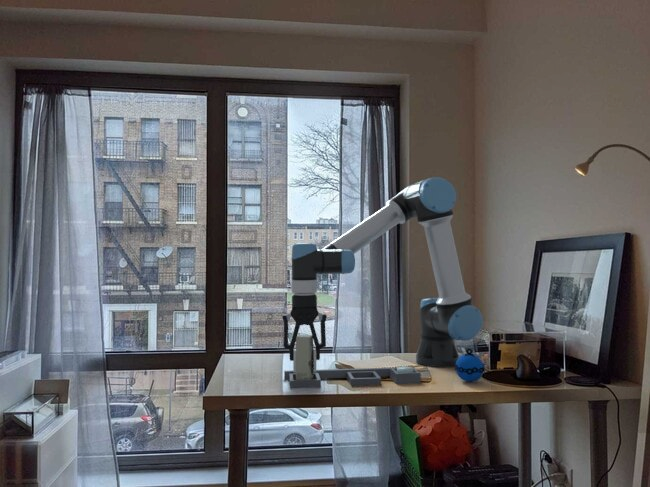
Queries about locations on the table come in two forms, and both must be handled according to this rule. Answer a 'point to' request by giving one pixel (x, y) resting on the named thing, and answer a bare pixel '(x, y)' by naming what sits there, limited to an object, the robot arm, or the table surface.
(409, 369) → the release button
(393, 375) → the button collar
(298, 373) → the box
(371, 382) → the panel
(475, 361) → the ornament
